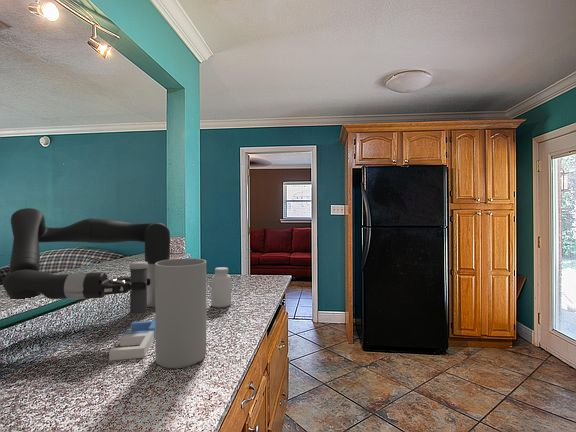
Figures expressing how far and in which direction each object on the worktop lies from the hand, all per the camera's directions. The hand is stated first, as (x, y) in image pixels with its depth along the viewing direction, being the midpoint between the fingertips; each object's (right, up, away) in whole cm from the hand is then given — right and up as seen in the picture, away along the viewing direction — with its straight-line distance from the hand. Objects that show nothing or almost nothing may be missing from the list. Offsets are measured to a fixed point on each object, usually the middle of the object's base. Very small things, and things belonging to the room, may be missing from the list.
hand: (148, 283), depth 96 cm
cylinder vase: (+15, -16, -15) cm, 27 cm away
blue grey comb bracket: (-1, -16, -5) cm, 17 cm away
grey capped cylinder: (-3, -8, 0) cm, 9 cm away
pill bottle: (+16, -16, +31) cm, 38 cm away
